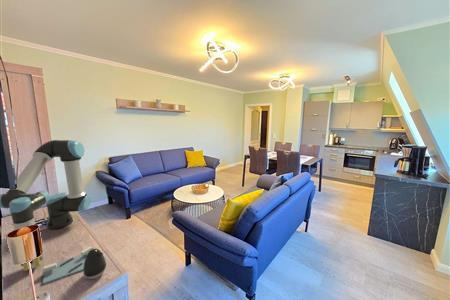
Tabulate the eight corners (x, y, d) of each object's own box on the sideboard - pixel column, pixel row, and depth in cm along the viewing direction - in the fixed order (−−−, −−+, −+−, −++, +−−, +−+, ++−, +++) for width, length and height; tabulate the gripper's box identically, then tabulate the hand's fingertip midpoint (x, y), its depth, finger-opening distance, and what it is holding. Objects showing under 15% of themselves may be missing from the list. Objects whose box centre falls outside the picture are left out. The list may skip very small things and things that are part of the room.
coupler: (23, 264, 105) (21, 254, 104) (44, 257, 110) (42, 248, 109) (21, 271, 100) (18, 262, 99) (42, 264, 105) (40, 255, 104)
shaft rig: (46, 267, 107) (45, 259, 106) (94, 251, 119) (93, 244, 118) (42, 285, 96) (41, 276, 95) (95, 266, 109) (94, 258, 108)
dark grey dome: (96, 284, 98) (93, 258, 95) (79, 280, 100) (75, 255, 97) (111, 268, 108) (109, 245, 105) (95, 265, 109) (92, 241, 106)
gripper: (19, 219, 105) (27, 255, 111) (9, 240, 90) (18, 280, 96) (38, 215, 109) (45, 250, 115) (31, 234, 94) (39, 273, 100)
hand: (33, 263), depth 105 cm, fingers closed on coupler, 6 cm apart
